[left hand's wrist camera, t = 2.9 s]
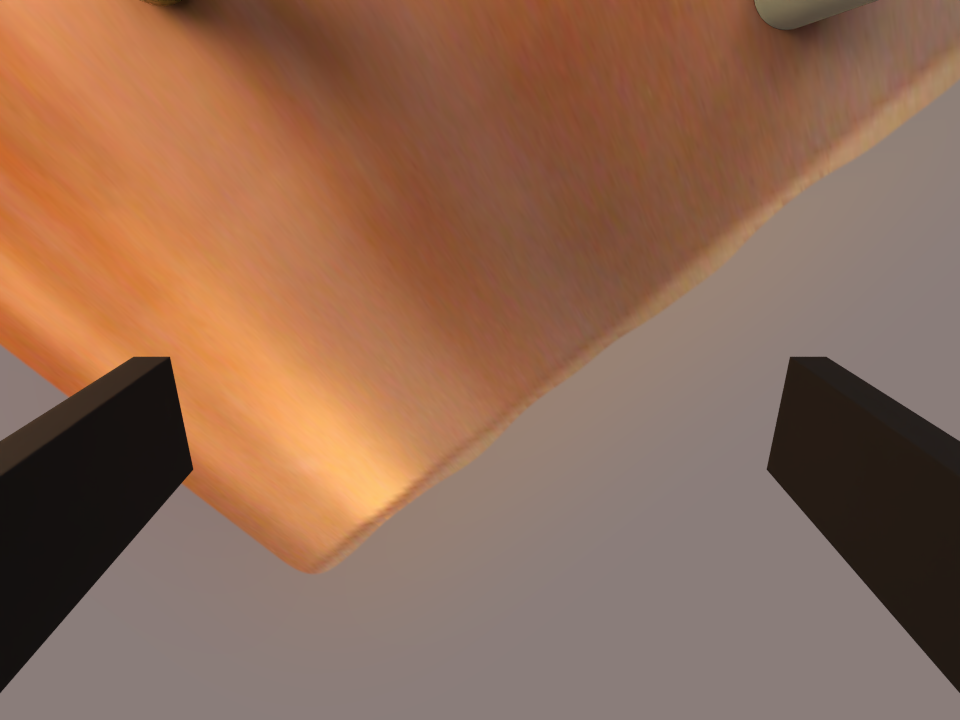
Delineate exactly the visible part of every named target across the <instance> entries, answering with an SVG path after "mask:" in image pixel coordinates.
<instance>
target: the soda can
mask: <svg viewBox="0 0 960 720" xmlns="http://www.w3.org/2000/svg"><path fill="white" fill-rule="evenodd" d="M141 1H143V2H146V3H148V4H151V5H156V6H169V5H173V4H176V3H178V2H180V1H182V0H141Z"/></svg>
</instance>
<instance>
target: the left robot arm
mask: <svg viewBox="0 0 960 720" xmlns="http://www.w3.org/2000/svg"><path fill="white" fill-rule="evenodd" d="M192 470H193V466H192V461H191V456H190V451H189V447H188V442H187V437H186V432H185V427H184V422H183V418H182V413H181V408H180V403H179V398H178V394H177V389H176V384H175V379H174V374H173V369H172V365H171V360H170V357H133V358H131V359H130V360H128V361H126V362H125V363H123V364H122V365H120V366H118V367H117V368H115V369H114V370H112V371H111V372H109V373H107V374H106V375H104V376H103V377H101V378H100V379H98V380H96V381H95V382H93V383H92V384H90V385H88V386H87V387H85V388H84V389H82V390H81V391H79V392H77V393H76V394H74V395H73V396H71V397H70V398H68V399H66V400H65V401H63V402H62V403H60V404H59V405H57V406H55V407H54V408H52V409H51V410H49V411H47V412H46V413H44V414H43V415H41V416H40V417H38V418H36V419H35V420H33V421H32V422H30V423H28V424H27V425H25V426H24V427H22V428H21V429H19V430H17V431H16V432H14V433H13V434H11V435H10V436H8V437H6V438H5V439H3V440H2V441H0V693H1V691H2V690H3V689H4V688H5V687H6V686H7V685H8V683H9V682H10V681H11V680H12V679H13V678H14V676H15V675H16V674H17V673H18V672H19V671H20V669H21V668H22V667H23V666H24V665H25V664H26V663H27V661H28V660H29V659H30V658H31V657H32V656H33V654H34V653H35V652H36V651H37V650H38V649H39V647H40V646H41V645H42V644H43V643H44V642H45V641H46V639H47V638H48V637H49V636H50V635H51V634H52V632H53V631H54V630H55V629H56V628H57V627H58V625H59V624H60V623H61V622H62V621H63V620H64V618H65V617H66V616H67V615H68V614H69V613H70V612H71V610H72V609H73V608H74V607H75V606H76V605H77V603H78V602H79V601H80V600H81V599H82V598H83V597H84V595H85V594H86V593H87V592H88V591H89V590H90V588H91V587H92V586H93V585H94V584H95V583H96V581H97V580H98V579H99V578H100V577H101V576H102V574H103V573H104V572H105V571H106V570H107V569H108V568H109V566H110V565H111V564H112V563H113V562H114V561H115V559H116V558H117V557H118V556H119V555H120V554H121V552H122V551H123V550H124V549H125V548H126V547H127V546H128V544H129V543H130V542H131V541H132V540H133V539H134V537H135V536H136V535H137V534H138V533H139V532H140V531H141V529H142V528H143V527H144V526H145V525H146V524H147V522H148V521H149V520H150V519H151V518H152V517H153V515H154V514H155V513H156V512H157V511H158V510H159V509H160V507H161V506H162V505H163V504H164V503H165V502H166V500H167V499H168V498H169V497H170V496H171V495H172V493H173V492H174V491H175V490H176V489H177V488H178V487H179V485H180V484H181V483H182V482H183V481H184V480H185V478H186V477H187V476H188V475H189V474H190V473H191V471H192ZM767 470H768V471H769V473H770V474H771V475H772V476H773V477H774V478H775V480H776V481H777V482H778V483H779V484H780V485H781V487H782V488H783V489H784V490H785V491H786V492H787V493H788V495H789V496H790V497H791V498H792V499H793V500H794V502H795V503H796V504H797V505H798V506H799V507H800V508H801V510H802V511H803V512H804V513H805V514H806V515H807V517H808V518H809V519H810V520H811V521H812V522H813V524H814V525H815V526H816V527H817V528H818V529H819V530H820V532H821V533H822V534H823V535H824V536H825V537H826V539H827V540H828V541H829V542H830V543H831V544H832V546H833V547H834V548H835V549H836V550H837V551H838V553H839V554H840V555H841V556H842V557H843V558H844V559H845V561H846V562H847V563H848V564H849V565H850V566H851V568H852V569H853V570H854V571H855V572H856V573H857V575H858V576H859V577H860V578H861V579H862V580H863V581H864V583H865V584H866V585H867V586H868V587H869V588H870V590H871V591H872V592H873V593H874V594H875V595H876V597H877V598H878V599H879V600H880V601H881V602H882V603H883V605H884V606H885V607H886V608H887V609H888V610H889V612H890V613H891V614H892V615H893V616H894V617H895V619H896V620H897V621H898V622H899V623H900V624H901V625H902V627H903V628H904V629H905V630H906V631H907V632H908V633H909V635H910V636H911V637H912V638H913V639H914V641H915V642H916V643H917V644H918V645H919V646H920V647H921V649H922V650H923V651H924V652H925V653H926V654H927V656H928V657H929V658H930V659H931V660H932V661H933V663H934V664H935V665H936V666H937V667H938V668H939V669H940V671H941V672H942V673H943V674H944V675H945V676H946V678H947V679H948V680H949V681H950V682H951V683H952V685H953V686H954V687H955V688H956V689H957V690H958V691H959V693H960V441H958V440H957V439H955V438H954V437H952V436H950V435H949V434H947V433H946V432H944V431H943V430H941V429H939V428H938V427H936V426H935V425H933V424H931V423H930V422H928V421H927V420H925V419H924V418H922V417H920V416H919V415H917V414H916V413H914V412H913V411H911V410H909V409H908V408H906V407H905V406H903V405H902V404H900V403H898V402H897V401H895V400H894V399H892V398H890V397H889V396H887V395H886V394H884V393H883V392H881V391H879V390H878V389H876V388H875V387H873V386H872V385H870V384H868V383H867V382H865V381H864V380H862V379H860V378H859V377H857V376H856V375H854V374H853V373H851V372H849V371H848V370H846V369H845V368H843V367H842V366H840V365H838V364H837V363H835V362H834V361H832V360H830V359H829V358H827V357H790V360H789V365H788V370H787V374H786V379H785V384H784V389H783V394H782V399H781V403H780V408H779V413H778V418H777V422H776V427H775V432H774V437H773V442H772V447H771V452H770V456H769V461H768V466H767Z"/></svg>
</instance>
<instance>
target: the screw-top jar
mask: <svg viewBox="0 0 960 720" xmlns="http://www.w3.org/2000/svg"><path fill="white" fill-rule="evenodd" d="M754 1H755V6H756V9H757V11H758V13H759V15H760V16H761V18H762V19H763V20H764V21H765V22H766V23H767V24H769V25H770V26H772V27H774V28H777V29H782V30H791V29H796V28H799V27H802V26H805V25H808V24H811V23H814V22H817V21H820V20H822V19H825V18H828V17H831V16H834V15H837V14H840V13H843V12H846V11H849V10H851V9H854V8H857V7H860V6H863V5H866V4H869V3H872V2H875V1H878V0H754Z"/></svg>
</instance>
